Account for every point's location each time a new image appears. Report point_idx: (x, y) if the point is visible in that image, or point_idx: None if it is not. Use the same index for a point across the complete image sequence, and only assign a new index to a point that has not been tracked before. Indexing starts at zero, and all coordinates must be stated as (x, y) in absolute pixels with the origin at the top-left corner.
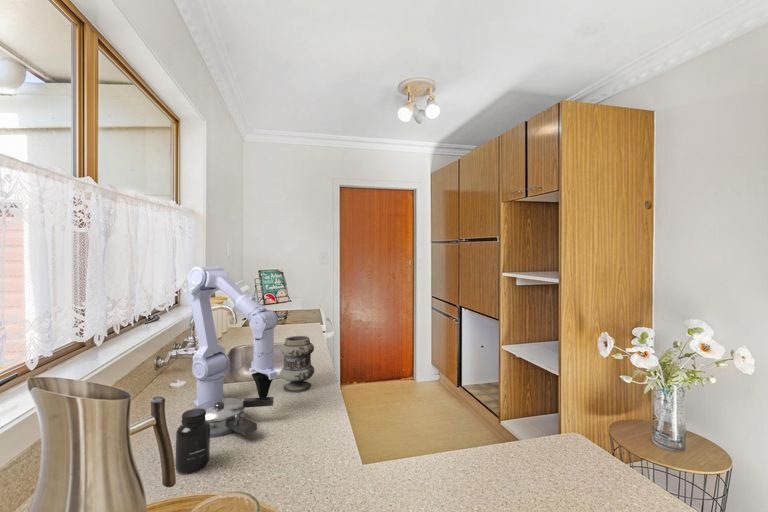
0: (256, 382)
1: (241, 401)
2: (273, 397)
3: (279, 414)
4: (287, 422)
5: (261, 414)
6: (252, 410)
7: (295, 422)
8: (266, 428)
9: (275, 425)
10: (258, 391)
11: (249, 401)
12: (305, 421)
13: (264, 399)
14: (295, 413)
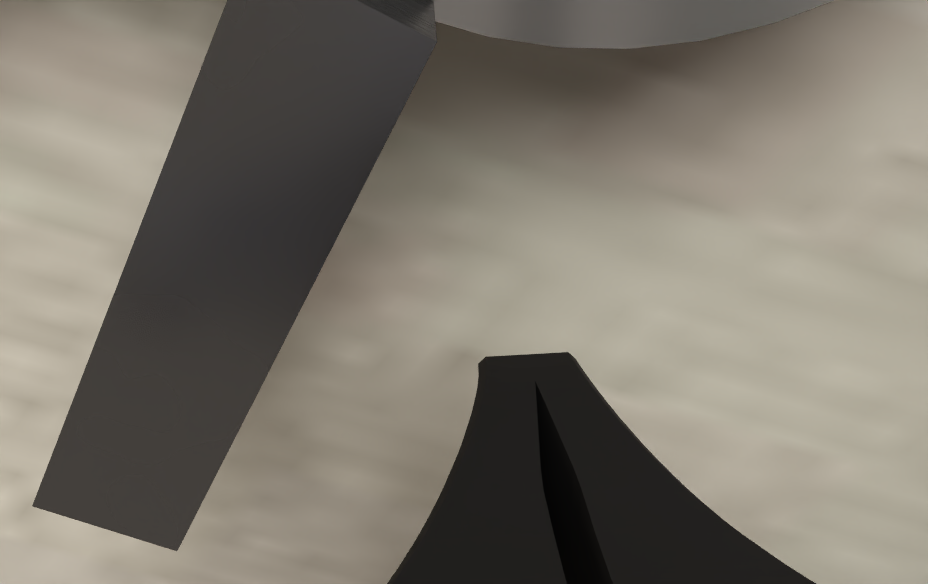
0: (612, 560)
1: (667, 1)
2: (164, 538)
3: (370, 405)
4: None
5: (522, 231)
6: (747, 170)
7: (41, 471)
8: (26, 149)
9: (67, 272)
10: (550, 419)
11: (195, 96)
12: (17, 551)
13: (111, 392)
14: (286, 539)
